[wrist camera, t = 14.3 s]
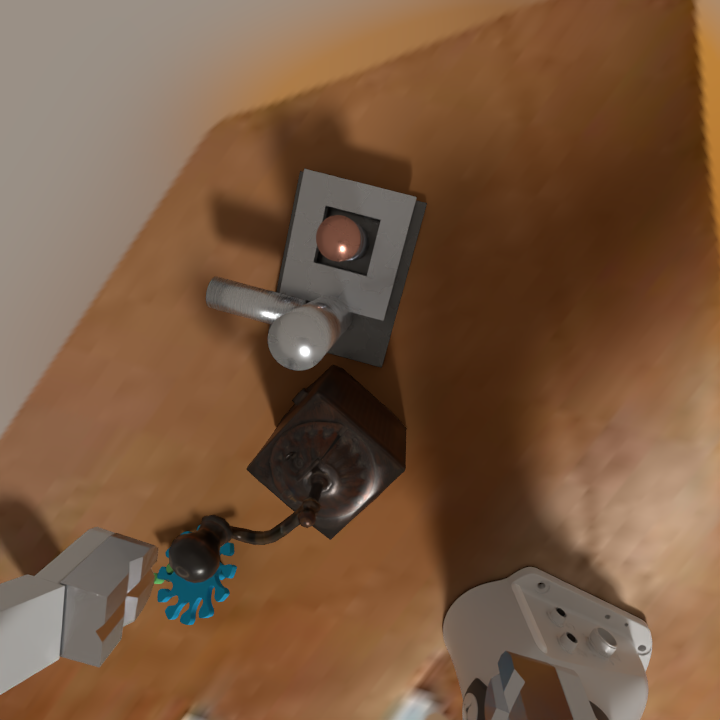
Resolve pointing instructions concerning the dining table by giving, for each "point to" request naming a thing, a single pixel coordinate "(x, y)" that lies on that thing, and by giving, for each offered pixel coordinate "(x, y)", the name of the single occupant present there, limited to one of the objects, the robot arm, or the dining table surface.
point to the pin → (342, 239)
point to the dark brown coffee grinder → (311, 469)
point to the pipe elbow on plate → (332, 276)
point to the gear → (194, 589)
